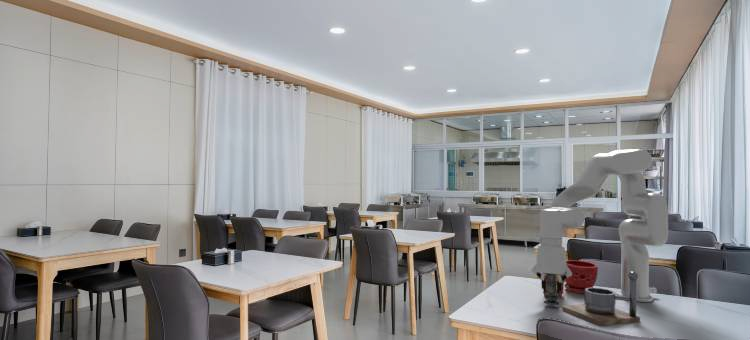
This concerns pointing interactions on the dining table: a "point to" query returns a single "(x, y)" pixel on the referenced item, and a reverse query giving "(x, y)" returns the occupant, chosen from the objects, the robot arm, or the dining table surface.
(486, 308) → the dining table surface
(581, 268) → the plant pot
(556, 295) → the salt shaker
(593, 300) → the cup bracket
